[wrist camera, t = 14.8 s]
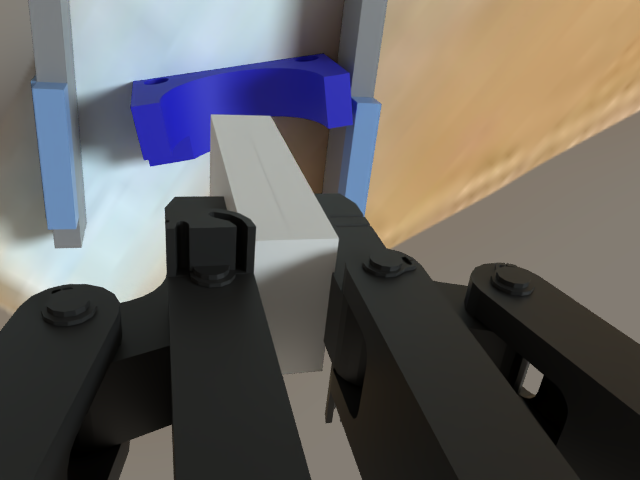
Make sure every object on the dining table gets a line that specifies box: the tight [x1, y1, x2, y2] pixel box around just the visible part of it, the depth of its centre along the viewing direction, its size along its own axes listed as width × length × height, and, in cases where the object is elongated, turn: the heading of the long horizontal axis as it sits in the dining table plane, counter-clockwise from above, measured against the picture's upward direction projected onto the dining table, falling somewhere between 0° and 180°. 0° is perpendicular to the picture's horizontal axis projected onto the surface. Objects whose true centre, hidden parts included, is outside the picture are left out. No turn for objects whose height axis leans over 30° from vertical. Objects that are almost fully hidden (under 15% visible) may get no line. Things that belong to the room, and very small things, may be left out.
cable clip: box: [131, 53, 353, 166], centre depth 36 cm, size 12×4×6 cm, turn 95°
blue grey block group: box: [28, 0, 387, 248], centre depth 34 cm, size 23×19×5 cm
